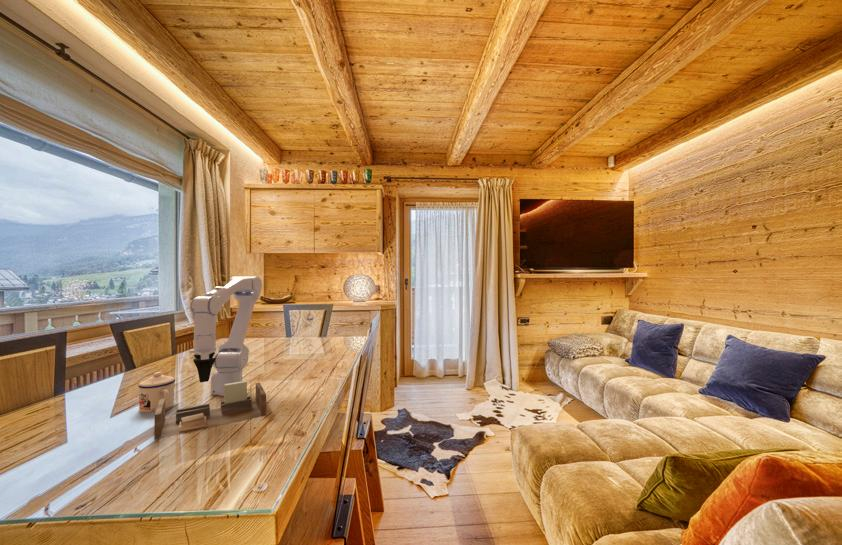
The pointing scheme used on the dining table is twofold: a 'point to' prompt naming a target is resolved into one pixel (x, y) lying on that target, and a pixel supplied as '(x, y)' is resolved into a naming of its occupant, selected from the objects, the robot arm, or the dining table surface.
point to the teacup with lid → (156, 392)
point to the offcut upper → (192, 419)
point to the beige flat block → (235, 392)
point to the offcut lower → (192, 426)
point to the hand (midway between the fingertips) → (204, 378)
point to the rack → (210, 414)
